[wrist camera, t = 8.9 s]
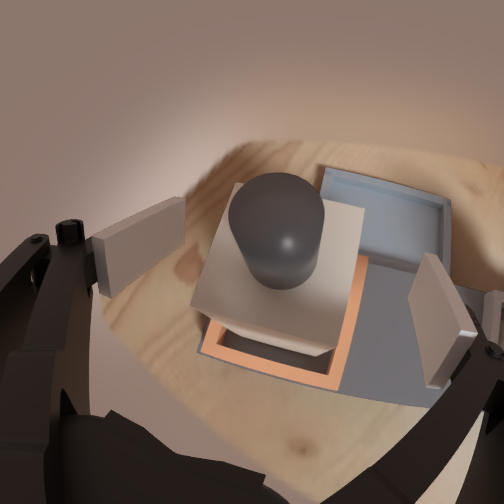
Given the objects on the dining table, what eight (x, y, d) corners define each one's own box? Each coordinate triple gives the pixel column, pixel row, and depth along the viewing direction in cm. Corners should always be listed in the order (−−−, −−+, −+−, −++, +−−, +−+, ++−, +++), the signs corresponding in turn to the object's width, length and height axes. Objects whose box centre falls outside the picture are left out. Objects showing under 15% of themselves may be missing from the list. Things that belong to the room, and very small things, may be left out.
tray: (445, 207, 23) (450, 199, 22) (442, 289, 21) (449, 284, 20) (324, 176, 26) (325, 167, 25) (305, 256, 24) (306, 249, 22)
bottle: (334, 283, 20) (383, 156, 8) (315, 356, 18) (356, 337, 6) (262, 266, 21) (218, 128, 9) (240, 336, 19) (150, 280, 7)
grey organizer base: (533, 317, 18) (561, 306, 14) (519, 411, 15) (549, 412, 11) (244, 248, 25) (233, 222, 21) (208, 354, 22) (189, 351, 18)
